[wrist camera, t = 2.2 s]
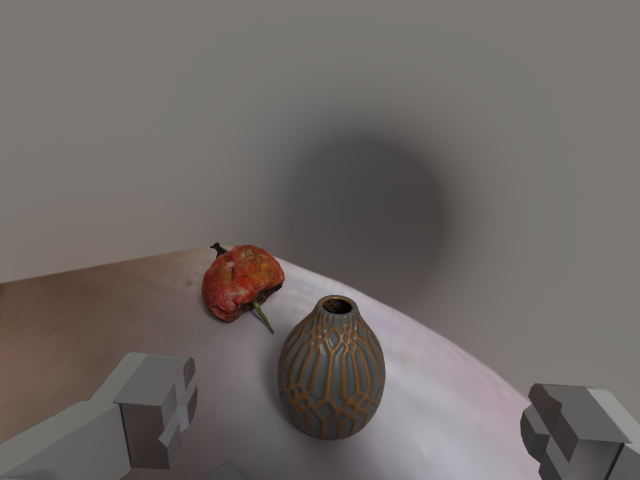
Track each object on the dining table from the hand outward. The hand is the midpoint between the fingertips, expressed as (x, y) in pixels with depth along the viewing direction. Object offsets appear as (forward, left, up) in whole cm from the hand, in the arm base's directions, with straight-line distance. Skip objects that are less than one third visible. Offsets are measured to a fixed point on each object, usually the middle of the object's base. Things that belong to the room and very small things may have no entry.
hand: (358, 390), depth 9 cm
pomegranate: (-22, +11, -14) cm, 29 cm away
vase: (-9, +9, -14) cm, 19 cm away
